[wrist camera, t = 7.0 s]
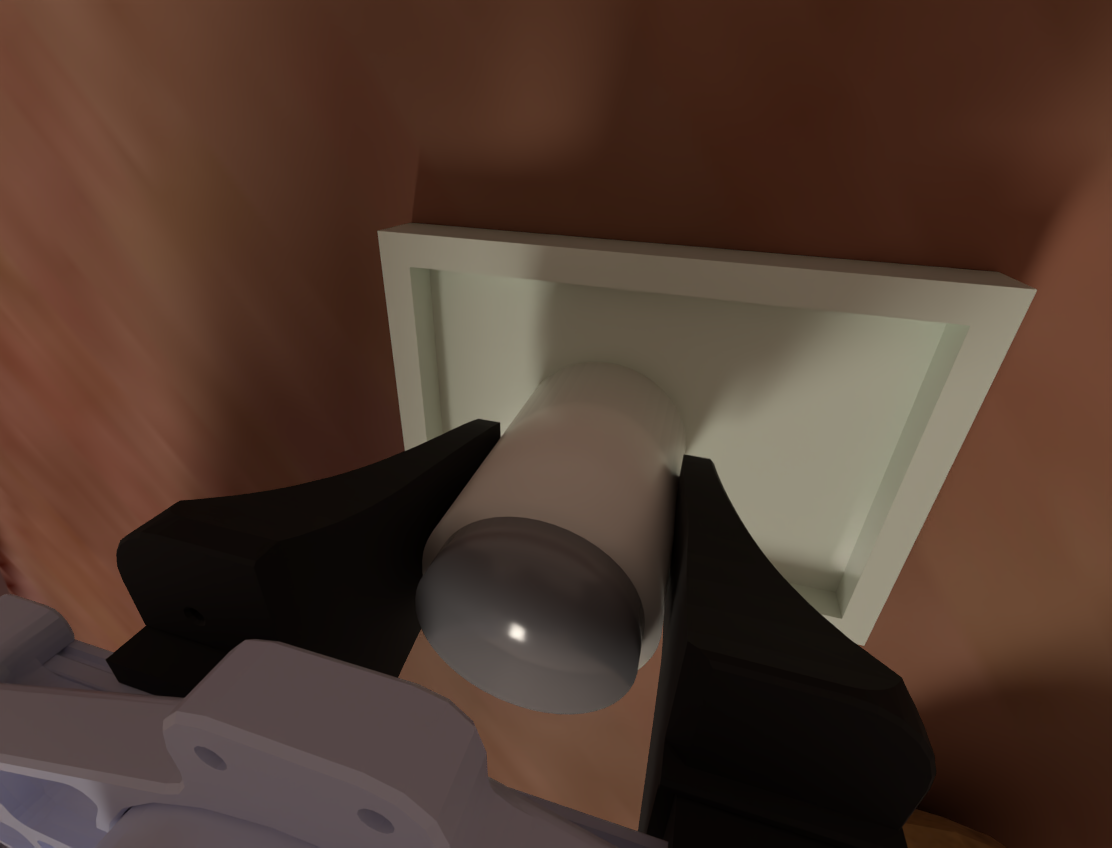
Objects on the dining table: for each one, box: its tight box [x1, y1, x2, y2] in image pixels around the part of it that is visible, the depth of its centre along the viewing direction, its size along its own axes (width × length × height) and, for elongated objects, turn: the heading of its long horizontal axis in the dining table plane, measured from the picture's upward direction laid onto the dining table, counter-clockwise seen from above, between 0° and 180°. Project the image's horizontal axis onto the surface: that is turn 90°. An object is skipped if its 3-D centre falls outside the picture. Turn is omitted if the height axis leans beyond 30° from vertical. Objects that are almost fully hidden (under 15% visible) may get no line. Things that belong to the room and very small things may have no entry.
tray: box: [377, 223, 1037, 646], centre depth 14 cm, size 14×10×2 cm
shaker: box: [415, 362, 686, 714], centre depth 12 cm, size 5×5×7 cm
